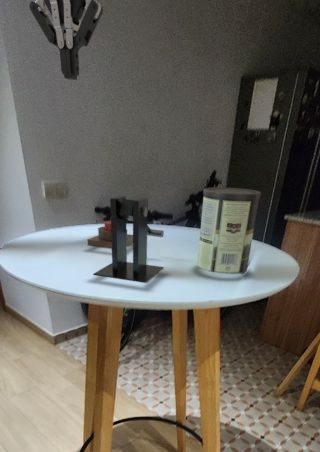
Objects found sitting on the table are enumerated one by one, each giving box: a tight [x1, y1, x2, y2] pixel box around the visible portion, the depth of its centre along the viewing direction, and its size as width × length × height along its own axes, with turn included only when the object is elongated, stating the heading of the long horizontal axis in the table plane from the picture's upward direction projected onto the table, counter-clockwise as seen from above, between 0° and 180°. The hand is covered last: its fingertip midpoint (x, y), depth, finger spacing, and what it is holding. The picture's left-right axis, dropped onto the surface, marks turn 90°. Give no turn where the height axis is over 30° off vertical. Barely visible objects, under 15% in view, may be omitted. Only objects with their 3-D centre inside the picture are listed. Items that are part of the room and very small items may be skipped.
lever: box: [120, 198, 165, 238], centre depth 66 cm, size 13×6×2 cm, turn 161°
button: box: [104, 220, 111, 231], centre depth 83 cm, size 4×4×2 cm
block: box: [86, 225, 133, 250], centre depth 84 cm, size 8×10×4 cm
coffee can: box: [196, 186, 262, 277], centre depth 70 cm, size 10×10×14 cm
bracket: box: [92, 195, 164, 284], centre depth 64 cm, size 10×10×13 cm
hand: (71, 79), depth 66 cm, fingers closed
